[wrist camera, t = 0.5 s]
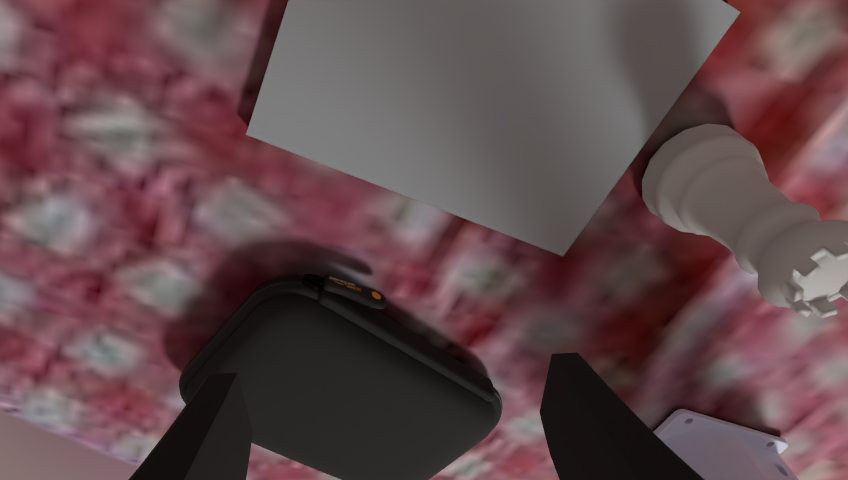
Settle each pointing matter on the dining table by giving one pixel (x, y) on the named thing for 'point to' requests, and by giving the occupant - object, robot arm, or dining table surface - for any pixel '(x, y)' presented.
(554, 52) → the slate mat
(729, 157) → the rook chess piece
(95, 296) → the dining table surface
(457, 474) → the dining table surface
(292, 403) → the carrying case or bag
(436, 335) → the dining table surface
